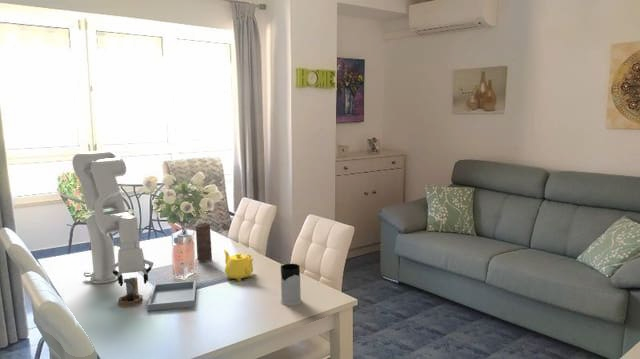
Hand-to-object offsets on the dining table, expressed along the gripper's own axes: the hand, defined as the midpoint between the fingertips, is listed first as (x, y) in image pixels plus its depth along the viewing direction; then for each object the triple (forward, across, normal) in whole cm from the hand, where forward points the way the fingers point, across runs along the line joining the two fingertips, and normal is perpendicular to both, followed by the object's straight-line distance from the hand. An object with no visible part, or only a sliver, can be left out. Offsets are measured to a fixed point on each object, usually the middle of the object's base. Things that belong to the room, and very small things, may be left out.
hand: (133, 283), depth 204 cm
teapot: (+6, +45, +12) cm, 47 cm away
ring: (+5, -1, -4) cm, 7 cm away
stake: (+5, -1, -7) cm, 9 cm away
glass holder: (+7, +63, -19) cm, 67 cm away
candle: (+5, +28, +39) cm, 48 cm away
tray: (+6, +16, -7) cm, 19 cm away
